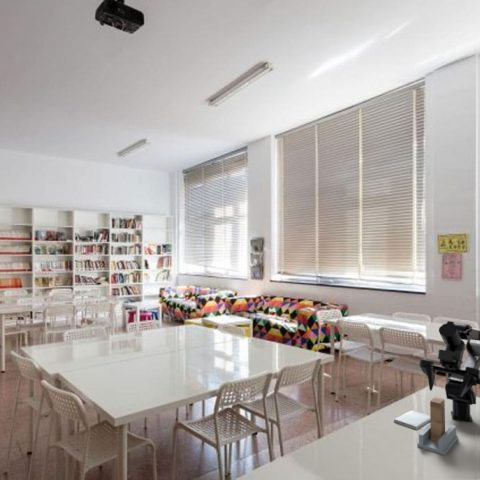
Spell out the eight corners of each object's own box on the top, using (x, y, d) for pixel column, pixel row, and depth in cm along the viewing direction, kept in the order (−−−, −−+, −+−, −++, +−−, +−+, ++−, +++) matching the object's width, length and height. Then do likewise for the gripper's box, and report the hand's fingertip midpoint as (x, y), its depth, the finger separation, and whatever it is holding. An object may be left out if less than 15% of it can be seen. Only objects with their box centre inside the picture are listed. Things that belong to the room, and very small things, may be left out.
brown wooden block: (435, 435, 131) (434, 396, 131) (445, 438, 129) (444, 399, 129) (430, 440, 127) (430, 400, 128) (441, 443, 125) (440, 403, 126)
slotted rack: (432, 431, 136) (432, 419, 136) (458, 438, 130) (457, 426, 130) (417, 446, 126) (417, 433, 126) (444, 455, 120) (444, 441, 120)
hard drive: (416, 426, 137) (432, 416, 145) (393, 419, 143) (410, 409, 151) (416, 431, 137) (432, 420, 145) (393, 423, 143) (410, 413, 151)
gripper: (420, 336, 145) (409, 374, 136) (479, 344, 132) (471, 387, 124) (428, 353, 150) (418, 391, 142) (485, 363, 137) (478, 405, 129)
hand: (444, 393), depth 134 cm, fingers open, 9 cm apart
